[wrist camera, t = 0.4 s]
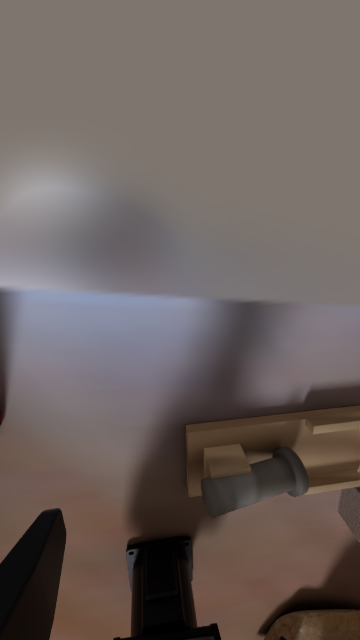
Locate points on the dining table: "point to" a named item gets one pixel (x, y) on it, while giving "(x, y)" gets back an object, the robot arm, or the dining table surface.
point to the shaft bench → (272, 457)
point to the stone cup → (317, 625)
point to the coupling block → (351, 509)
